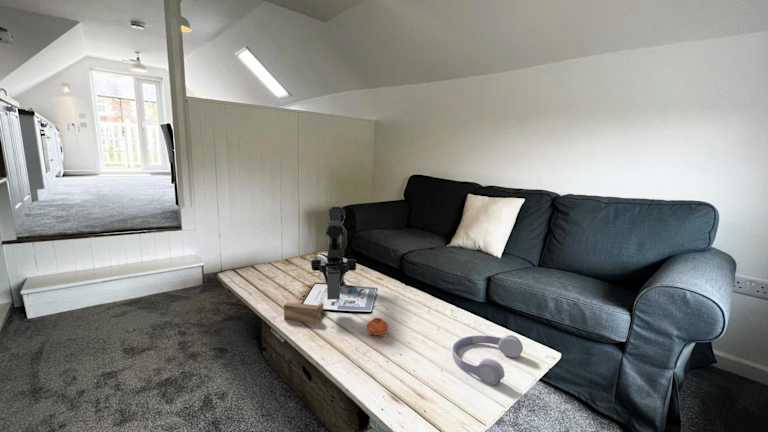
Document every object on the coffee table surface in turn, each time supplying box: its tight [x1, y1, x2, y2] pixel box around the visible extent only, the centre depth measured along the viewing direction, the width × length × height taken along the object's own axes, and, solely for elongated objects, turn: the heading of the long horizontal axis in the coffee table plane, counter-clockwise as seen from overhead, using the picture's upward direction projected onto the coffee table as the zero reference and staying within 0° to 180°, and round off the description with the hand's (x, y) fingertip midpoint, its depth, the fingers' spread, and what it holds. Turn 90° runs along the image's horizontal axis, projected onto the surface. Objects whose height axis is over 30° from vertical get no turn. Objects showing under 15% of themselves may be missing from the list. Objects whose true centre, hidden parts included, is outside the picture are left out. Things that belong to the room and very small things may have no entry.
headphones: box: [452, 334, 524, 386], centre depth 113 cm, size 22×7×20 cm
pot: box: [366, 317, 389, 339], centre depth 127 cm, size 8×8×7 cm
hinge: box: [316, 252, 328, 270], centre depth 199 cm, size 17×5×10 cm, turn 38°
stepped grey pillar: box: [326, 267, 341, 301], centre depth 142 cm, size 5×5×12 cm
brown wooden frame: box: [283, 299, 324, 324], centre depth 141 cm, size 11×14×6 cm
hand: (333, 283), depth 141 cm, fingers closed on stepped grey pillar, 5 cm apart
